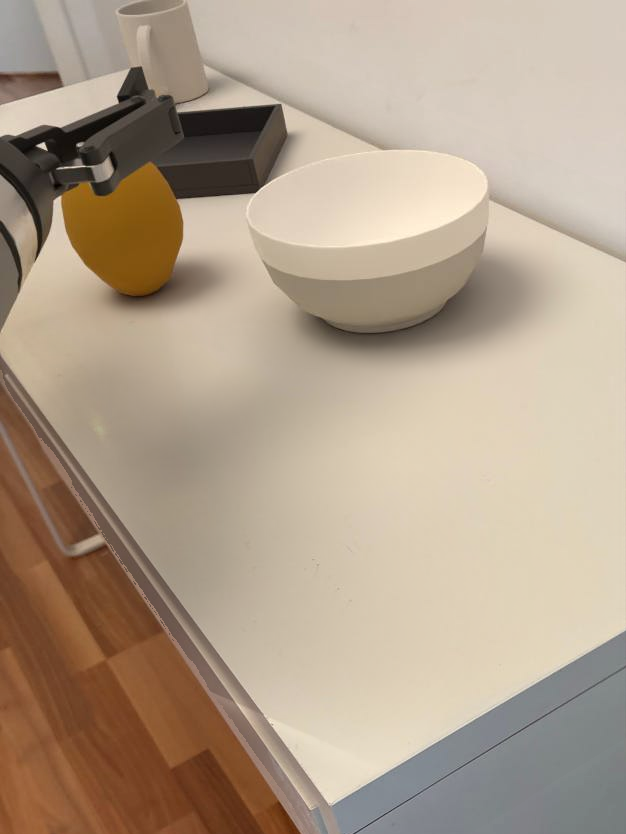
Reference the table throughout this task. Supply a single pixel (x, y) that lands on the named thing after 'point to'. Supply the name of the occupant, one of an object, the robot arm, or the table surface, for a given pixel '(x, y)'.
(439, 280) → the bowl
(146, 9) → the mug
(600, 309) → the table surface
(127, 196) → the apple
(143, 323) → the table surface
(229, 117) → the tray
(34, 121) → the table surface
